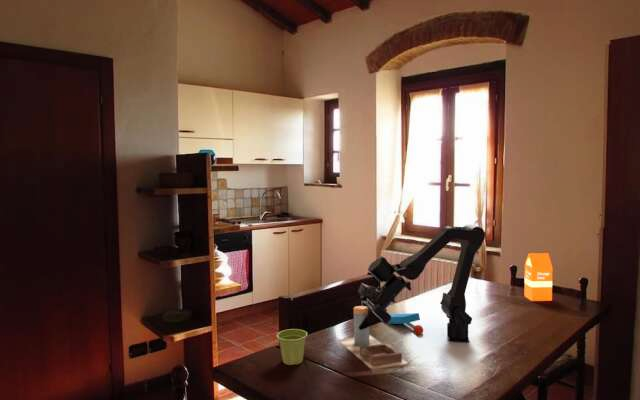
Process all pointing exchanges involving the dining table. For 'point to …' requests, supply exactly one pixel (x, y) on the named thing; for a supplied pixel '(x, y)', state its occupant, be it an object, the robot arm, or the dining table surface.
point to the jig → (375, 354)
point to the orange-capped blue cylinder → (359, 315)
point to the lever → (407, 321)
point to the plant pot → (292, 345)
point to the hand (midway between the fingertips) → (357, 326)
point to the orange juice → (538, 277)
